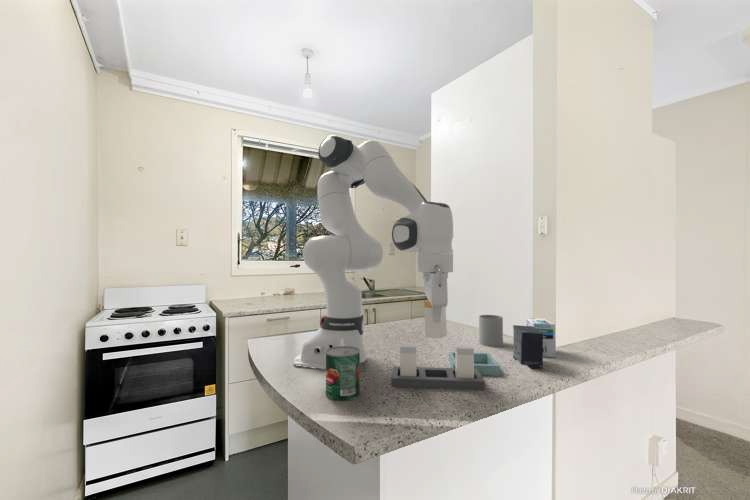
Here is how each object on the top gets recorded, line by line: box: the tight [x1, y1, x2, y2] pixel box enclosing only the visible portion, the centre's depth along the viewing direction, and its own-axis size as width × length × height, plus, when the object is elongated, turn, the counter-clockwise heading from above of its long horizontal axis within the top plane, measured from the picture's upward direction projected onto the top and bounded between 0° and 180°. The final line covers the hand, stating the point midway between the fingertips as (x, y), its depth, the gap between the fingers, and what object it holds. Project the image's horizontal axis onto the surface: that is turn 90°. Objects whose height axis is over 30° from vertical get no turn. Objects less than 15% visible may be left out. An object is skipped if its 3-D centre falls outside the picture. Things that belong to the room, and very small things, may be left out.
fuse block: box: [391, 365, 486, 391], centre depth 87 cm, size 22×9×3 cm, turn 84°
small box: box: [512, 324, 544, 370], centre depth 105 cm, size 11×6×10 cm, turn 171°
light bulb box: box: [526, 317, 557, 358], centre depth 116 cm, size 11×7×11 cm, turn 168°
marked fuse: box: [423, 299, 448, 340], centre depth 87 cm, size 4×4×9 cm
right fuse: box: [454, 343, 475, 378], centre depth 86 cm, size 4×4×9 cm
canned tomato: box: [325, 346, 361, 402], centre depth 79 cm, size 8×8×11 cm
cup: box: [478, 314, 504, 348], centre depth 127 cm, size 8×8×10 cm
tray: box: [448, 351, 501, 376], centre depth 98 cm, size 12×12×4 cm
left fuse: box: [399, 342, 417, 376], centre depth 88 cm, size 4×4×9 cm
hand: (435, 319), depth 87 cm, fingers closed on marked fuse, 5 cm apart
